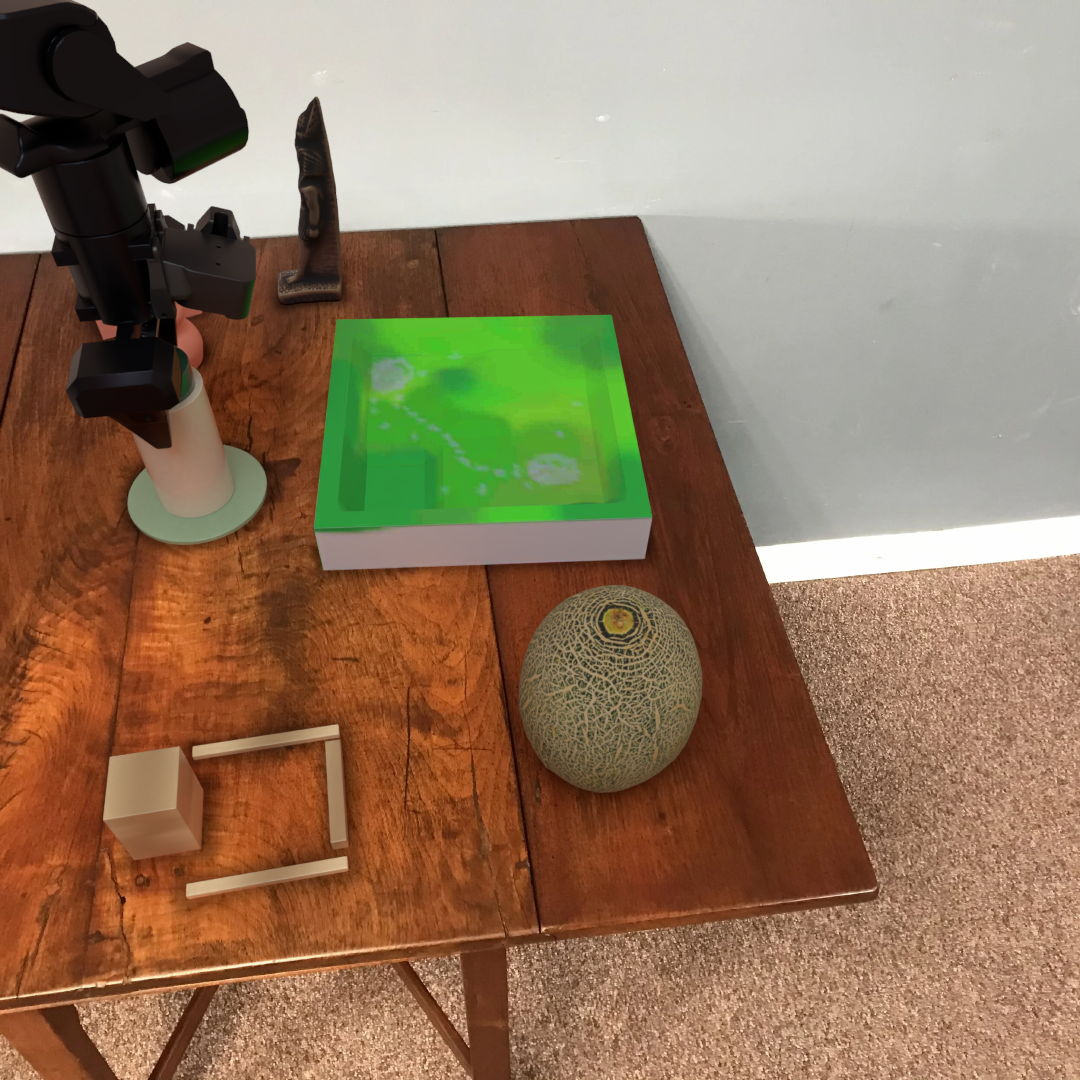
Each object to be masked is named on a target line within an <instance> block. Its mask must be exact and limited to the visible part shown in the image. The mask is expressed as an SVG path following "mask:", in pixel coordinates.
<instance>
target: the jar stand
mask: <svg viewBox="0 0 1080 1080" xmlns="http://www.w3.org/2000/svg"><path fill="white" fill-rule="evenodd" d="M340 737H341V732H340V725H339V723H335V724H331V725H324V726H316V727H310V728H304V729H296V730H291V731H284V732H277V733H271V734H263V735H258V736H252V737H246V738H238V739H232V740H225V741H219V742H213V743H205V744H200V745H193V746H192V749H191V750H192V751H191V752H192V753H191V757H192V759H193V760H194V761H198V760H204V759H211V758H216V757H223V756H230V755H236V754H244V753H249V752H255V751H261V750H268V749H275V748H282V747H288V746H295V745H301V744H306V743H314V742H321V741H325V742H324V749H325V750H324V751H325V752H324V753H325V769H326V788H327V789H326V790H327V807H328V808H327V809H328V826H329V842H330V845H331V848H332V850H340V849H346V848H349V846H350V842H349V828H348V826H349V825H348V812H347V798H346V797H347V796H346V783H345V782H346V781H345V768H344V754H343V753H344V752H343V745H342V740H341V739H339V738H340ZM333 739H334V740H333ZM106 777H107V778H106V788H105V797H104V805H103V806H104V807H103V816H102V821H103V822H104V823H105V825H106V826H107V828H108V829H109V830H110V831H111V832H112V834H113V835H114V836H115V838H116V840H117V841H118V842H119V843H120V844H121V845H122V847H123V848H124V850H125V851H126V852H127V853H128V854H129V856H130V857H131V859H132V860H133V861H138V860H144V859H151V858H157V857H161V856H163V857H164V856H167V855H175V854H180V853H186V852H193V851H199V850H202V845H203V844H202V843H203V841H202V839H203V816H204V815H203V813H204V788H203V787H202V785H201V783H200V781H199V779H198V777H197V775H196V773H195V772H194V769H193V768H192V766H191V764H190V763H189V760H188V759H187V756H186V755H185V753H184V752H183V750H182V747H181V746H180V745H177V746H172V747H165V748H158V749H152V750H145V751H138V752H132V753H126V754H120V755H119V754H118V755H112V756H109V760H108V768H107V776H106ZM349 869H350V865H349V858H348V856H347V855H345V856H339V857H333V858H327V859H321V860H314V861H310V862H304V863H299V864H293V865H287V866H281V867H275V868H269V869H264V870H257V871H252V872H247V873H241V874H234V875H230V876H224V877H218V878H212V879H206V880H201V881H195V882H194V881H193V882H188V883H186V885H185V897H186V898H187V900H192V899H197V898H198V899H199V898H204V897H209V896H216V895H221V894H227V893H232V892H237V891H243V890H248V889H249V890H250V889H254V888H255V889H256V888H259V887H260V888H261V887H265V886H266V887H267V886H270V885H277V884H282V883H283V884H284V883H288V882H295V881H300V880H305V879H312V878H315V877H322V876H328V875H333V874H339V873H346V872H349Z"/></svg>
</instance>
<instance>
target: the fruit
mask: <svg viewBox="0 0 1080 1080" xmlns="http://www.w3.org/2000/svg"><path fill="white" fill-rule="evenodd" d="M694 638H695V637H694V636H693V635H692V633H691V631H690V630H689V627H688V626H687V624H686V622H685V621H684V620H683V618H682V616H681V615H680V614H679V613H677V612H676V610H675V609H674V608H673V607H671V606H670V605H669V604H667V603H666V602H665V601H663V600H662V599H660V598H659V597H657V596H656V595H653V594H652V593H650V592H648V591H645V590H643V589H639V588H637V587H634V586H630V585H625V584H609V585H601V586H600V585H599V586H597V587H592V588H589V589H585V590H582V591H580V592H578V593H575V594H573V595H571V596H569V597H567V598H565V599H564V600H563V601H561V602H560V603H559V604H557V605H556V606H555V607H554V608H553V609H551V610H550V611H549V612H548V614H546V616H545V617H544V618H543V620H542V621H541V622H540V623H539V625H538V626H537V628H536V629H535V631H534V633H533V634H532V637H531V638H530V641H529V643H528V646H527V649H526V651H525V654H524V658H523V661H522V665H521V668H520V669H521V670H520V674H519V680H518V682H519V683H518V711H519V715H520V719H521V723H522V726H523V729H524V733H525V736H526V739H527V740H528V742H529V743H530V745H531V747H532V749H533V751H534V752H535V754H536V756H537V758H539V761H541V763H542V764H543V765H544V767H545V768H546V769H547V770H549V771H551V773H553V774H555V775H556V776H558V777H559V778H561V779H562V780H564V781H565V782H567V783H568V784H570V785H571V786H574V787H575V788H578V789H581V790H585V791H589V792H592V793H600V794H602V793H603V794H605V793H617V792H621V791H625V790H627V789H630V788H632V787H636V786H637V785H640V784H643V783H644V782H646V781H648V780H651V779H652V778H653V777H655V776H657V775H658V774H660V772H662V771H664V770H665V769H666V768H667V767H668V766H669V765H670V764H671V763H673V762H674V761H676V759H677V757H678V756H679V755H680V754H681V752H682V751H683V749H684V748H685V747H686V745H687V743H688V740H689V739H690V737H691V734H692V732H693V729H694V726H695V724H696V721H697V719H698V716H699V711H700V707H701V702H702V697H703V671H702V665H701V660H700V656H699V653H698V650H697V649H698V648H697V646H696V643H695V639H694Z"/></svg>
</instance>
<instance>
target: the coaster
mask: <svg viewBox="0 0 1080 1080" xmlns="http://www.w3.org/2000/svg"><path fill="white" fill-rule="evenodd" d="M223 446H224V450H225V453H226V456H227V459H228V463H229V466H230V469H231V472H232V475H233V479H234V482H235V489H234V493H233V495H232V497H231V499H230V500H229V501H228V502H227V504H225V505H224V506H223V507H222V508H220V509H219V510H217V511H216V512H214V513H211V514H209V515H206V516H202V517H197V518H182V517H178V516H175V515H172V514H170V513H168V512H167V511H166V510H165V509H164V508H163V507H162V506H161V504H160V502H159V499H158V497H157V494H156V492H155V489H154V487H153V485H152V482H151V480H150V477H149V475H148V472H147V470H146V467H145V468H144V469H143V470H141V471H140V473H139V474H138V475H137V476H136V477H135V479H134V481H133V482H132V484H131V486H130V489H129V491H128V496H127V504H126V505H127V512H128V515H129V516H130V519H131V521H132V522H133V524H134V526H135V527H136V528H137V529H138V530H139V531H140V532H141V533H143V534H144V535H145V536H147V537H149V538H150V539H153V540H156V541H158V542H161V543H164V544H169V545H175V546H176V545H178V546H190V545H191V546H193V545H200V544H206V543H210V542H213V541H217V540H219V539H222V538H225V537H227V536H229V535H231V534H233V533H235V532H236V531H238V530H240V529H242V528H243V527H244V526H246V524H248V523H249V522H251V520H252V519H254V517H256V515H257V514H258V512H259V511H260V510H261V508H262V507H263V505H264V502H265V500H266V498H267V494H268V478H267V475H266V471H265V470H264V467H263V466H262V464H261V463H260V462H259V461H258V459H256V458H255V457H254V456H253V455H252V454H250V453H249V452H247V451H245V450H243V449H241V448H238V447H235V446H231V445H227V444H223Z"/></svg>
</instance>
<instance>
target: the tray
mask: <svg viewBox="0 0 1080 1080" xmlns="http://www.w3.org/2000/svg"><path fill="white" fill-rule="evenodd" d="M335 322H336V323H335V332H334V340H333V349H332V359H331V367H330V377H329V384H328V385H329V387H328V394H327V405H326V414H325V421H324V422H325V423H324V431H323V441H322V450H321V460H320V469H319V475H318V476H319V477H318V485H317V486H318V487H317V495H316V505H315V512H314V513H315V514H314V522H313V532H314V536H315V541H316V544H317V549H318V553H319V557H320V562H321V567H322V570H323V571H345V570H346V571H347V570H348V571H349V570H373V569H400V568H401V569H402V568H432V567H454V566H455V567H457V566H483V565H484V566H485V565H510V564H512V565H513V564H538V563H561V562H562V563H565V562H593V561H594V562H597V561H622V560H624V561H625V560H626V561H627V560H645V559H646V555H647V548H648V543H649V537H650V532H651V527H652V521H653V513H652V509H651V504H650V500H649V494H648V488H647V483H646V479H645V473H644V469H643V463H642V459H641V453H640V447H639V445H638V439H637V434H636V428H635V424H634V420H633V419H634V418H633V414H632V409H631V405H630V399H629V394H628V389H627V384H626V380H625V379H626V378H625V375H624V374H625V373H624V369H623V365H622V359H621V354H620V349H619V344H618V339H617V334H616V329H615V325H614V319H613V315H612V314H581V315H580V314H578V315H577V314H576V315H524V316H523V315H520V316H517V315H515V316H467V317H466V316H464V317H462V316H460V317H406V318H404V317H403V318H402V317H401V318H399V317H398V318H397V317H396V318H350V319H349V318H347V319H346V318H345V319H344V318H343V319H336V321H335Z"/></svg>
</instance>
